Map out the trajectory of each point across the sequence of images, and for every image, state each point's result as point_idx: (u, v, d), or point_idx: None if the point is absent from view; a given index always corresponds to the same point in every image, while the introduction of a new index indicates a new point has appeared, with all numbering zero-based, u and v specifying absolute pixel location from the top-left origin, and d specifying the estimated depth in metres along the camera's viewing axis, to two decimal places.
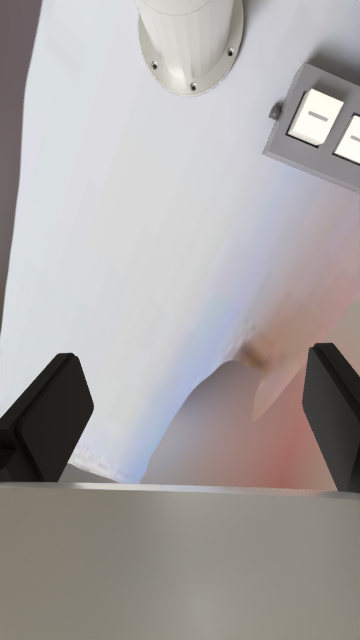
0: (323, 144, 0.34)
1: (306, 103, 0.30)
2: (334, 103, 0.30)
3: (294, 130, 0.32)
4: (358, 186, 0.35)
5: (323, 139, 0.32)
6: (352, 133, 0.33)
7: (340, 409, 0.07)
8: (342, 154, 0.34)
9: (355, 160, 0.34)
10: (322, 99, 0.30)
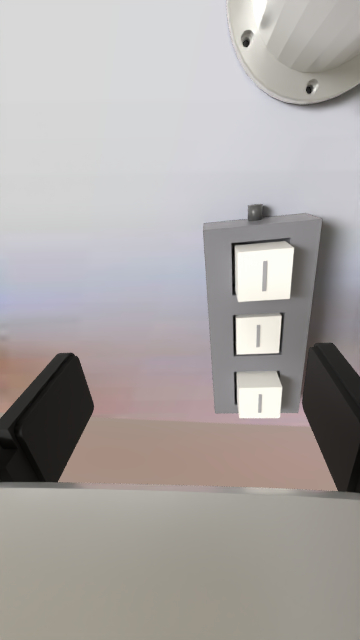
0: None
1: (274, 251, 0.20)
2: (285, 288, 0.21)
3: (238, 254, 0.20)
4: (213, 362, 0.27)
5: (241, 299, 0.22)
6: (262, 324, 0.25)
7: (340, 409, 0.07)
8: (237, 327, 0.25)
9: (237, 344, 0.26)
10: (285, 269, 0.20)
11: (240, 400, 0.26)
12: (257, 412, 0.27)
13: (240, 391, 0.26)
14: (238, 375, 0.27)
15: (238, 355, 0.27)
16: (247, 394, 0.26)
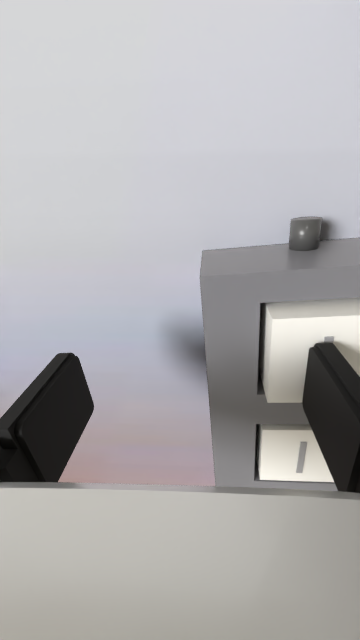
0: None
1: (351, 319, 0.09)
2: None
3: (272, 322, 0.10)
4: None
5: (274, 399, 0.11)
6: (312, 441, 0.13)
7: (340, 409, 0.07)
8: (263, 442, 0.14)
9: (261, 465, 0.14)
10: None
11: None
12: None
13: None
14: None
15: None
16: None
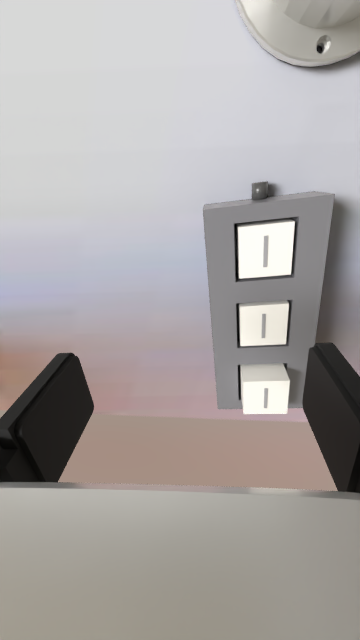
0: (243, 286, 0.22)
1: (275, 225, 0.20)
2: (286, 263, 0.21)
3: (238, 229, 0.20)
4: (215, 355, 0.25)
5: (242, 276, 0.22)
6: (268, 313, 0.23)
7: (340, 409, 0.07)
8: (241, 316, 0.23)
9: (240, 335, 0.24)
10: (286, 244, 0.20)
11: (244, 395, 0.25)
12: (263, 407, 0.25)
13: (244, 386, 0.24)
14: (242, 368, 0.26)
15: (242, 347, 0.25)
16: (252, 388, 0.24)
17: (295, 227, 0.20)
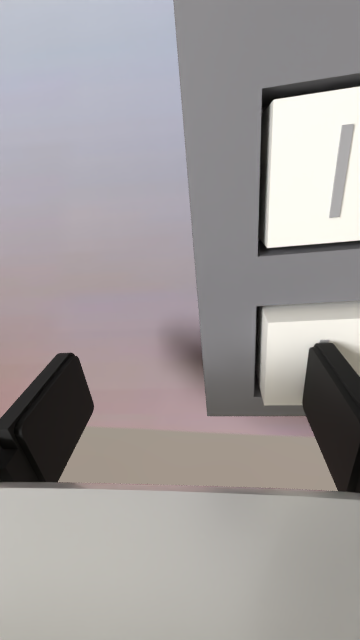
0: (289, 5, 0.07)
1: None
2: None
3: None
4: (200, 279, 0.10)
5: None
6: None
7: (340, 409, 0.07)
8: (275, 141, 0.08)
9: (270, 211, 0.09)
10: None
11: (269, 359, 0.10)
12: None
13: (271, 334, 0.10)
14: None
15: (271, 254, 0.09)
16: (289, 341, 0.10)
17: None
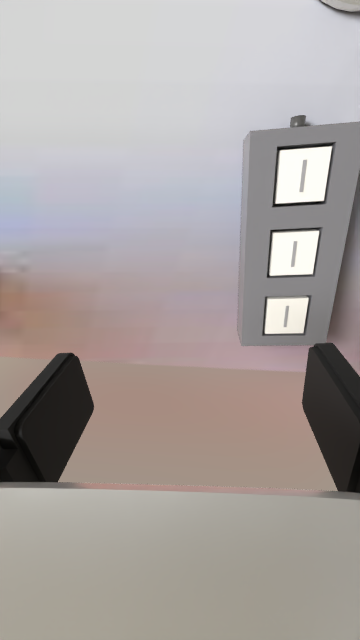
0: (278, 211, 0.24)
1: (314, 150, 0.22)
2: (320, 189, 0.23)
3: (280, 153, 0.22)
4: (245, 285, 0.27)
5: (279, 200, 0.23)
6: (299, 240, 0.25)
7: (340, 409, 0.07)
8: (273, 243, 0.25)
9: (271, 263, 0.26)
10: (322, 169, 0.22)
11: (268, 313, 0.28)
12: (282, 327, 0.29)
13: (268, 303, 0.28)
14: None
15: (271, 277, 0.27)
16: (275, 306, 0.28)
17: None
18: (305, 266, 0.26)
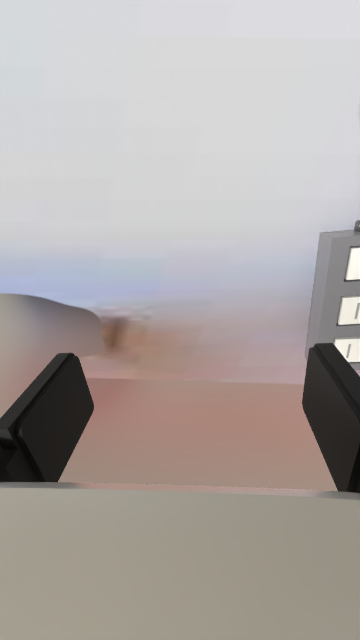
0: (348, 284, 0.35)
1: None
2: None
3: (352, 250, 0.33)
4: (320, 331, 0.38)
5: (349, 278, 0.34)
6: None
7: (340, 409, 0.07)
8: (343, 304, 0.36)
9: (340, 317, 0.37)
10: None
11: None
12: (345, 357, 0.40)
13: (336, 342, 0.39)
14: None
15: (339, 325, 0.38)
16: (340, 344, 0.39)
17: None
18: None
